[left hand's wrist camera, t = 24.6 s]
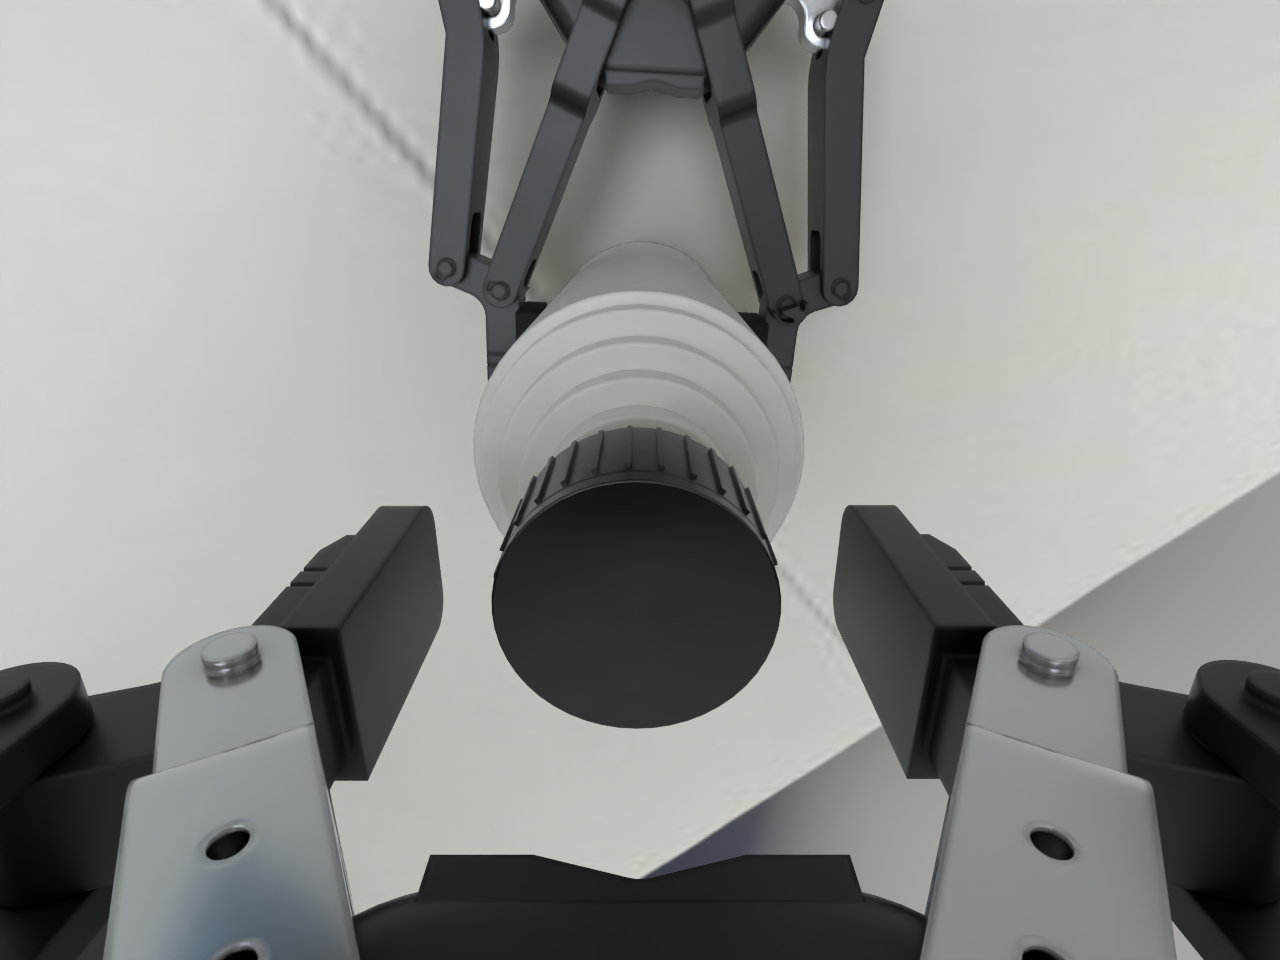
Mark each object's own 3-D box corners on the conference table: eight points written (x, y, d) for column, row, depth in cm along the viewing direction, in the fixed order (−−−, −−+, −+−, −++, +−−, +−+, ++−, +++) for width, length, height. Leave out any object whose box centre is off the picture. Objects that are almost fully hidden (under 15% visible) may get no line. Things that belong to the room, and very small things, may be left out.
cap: (709, 384, 11) (725, 429, 9) (791, 597, 12) (822, 681, 10) (472, 478, 12) (433, 542, 9) (576, 671, 13) (563, 764, 11)
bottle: (546, 255, 31) (323, 383, 9) (712, 229, 30) (880, 302, 9) (576, 414, 34) (456, 798, 12) (728, 392, 33) (888, 751, 12)
